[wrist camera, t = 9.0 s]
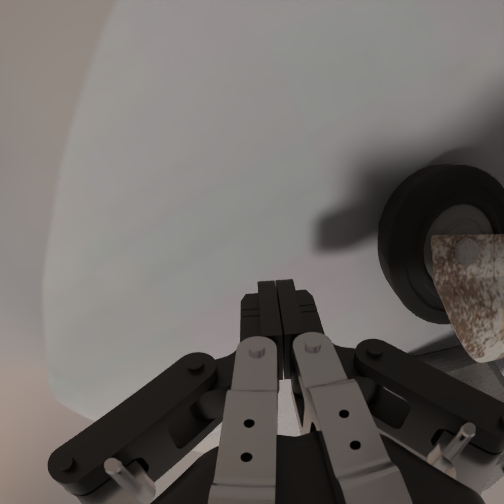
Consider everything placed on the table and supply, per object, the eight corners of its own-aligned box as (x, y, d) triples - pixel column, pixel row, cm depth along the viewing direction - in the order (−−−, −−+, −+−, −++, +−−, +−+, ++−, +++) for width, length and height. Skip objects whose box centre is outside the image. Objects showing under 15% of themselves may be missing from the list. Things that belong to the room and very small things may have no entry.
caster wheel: (367, 162, 17) (502, 170, 16) (362, 339, 20) (485, 327, 18) (402, 159, 11) (566, 176, 9) (381, 403, 13) (529, 375, 12)
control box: (387, 359, 21) (443, 498, 10) (479, 338, 20) (546, 441, 10) (366, 423, 24) (396, 533, 14) (447, 402, 24) (489, 494, 14)
